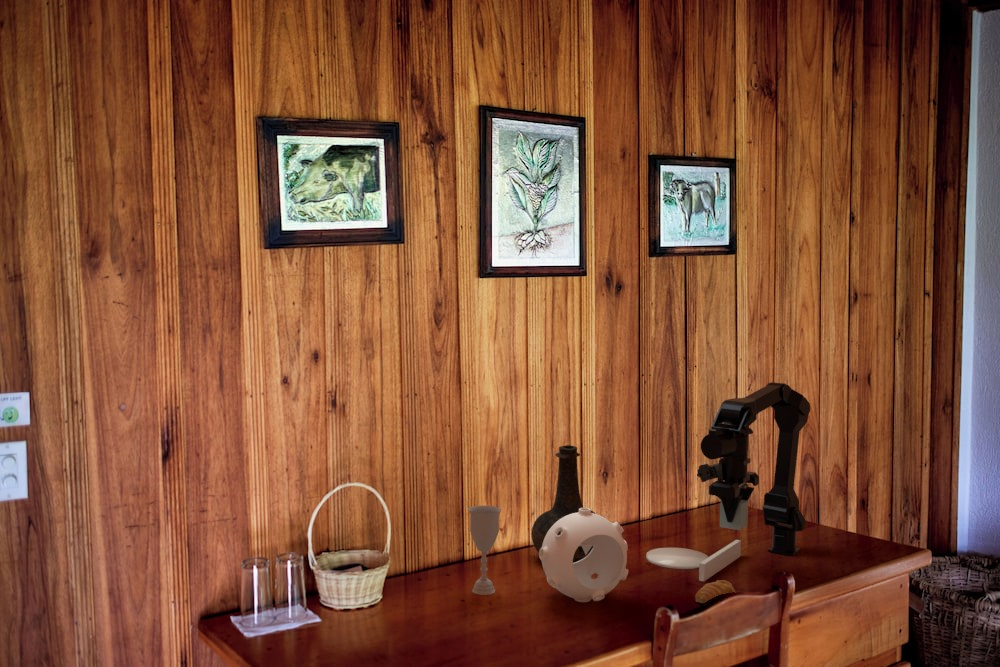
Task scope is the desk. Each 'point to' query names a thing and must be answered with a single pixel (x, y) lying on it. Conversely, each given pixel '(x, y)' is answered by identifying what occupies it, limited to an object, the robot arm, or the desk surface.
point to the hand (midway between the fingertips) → (733, 519)
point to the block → (739, 518)
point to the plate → (676, 558)
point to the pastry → (713, 590)
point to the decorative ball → (601, 560)
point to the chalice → (484, 540)
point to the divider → (719, 560)
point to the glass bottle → (562, 499)
